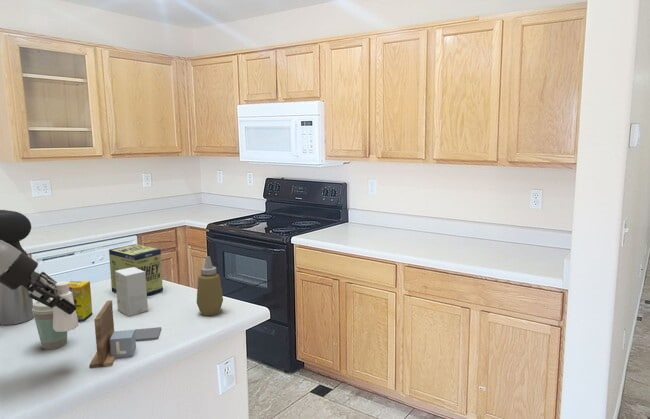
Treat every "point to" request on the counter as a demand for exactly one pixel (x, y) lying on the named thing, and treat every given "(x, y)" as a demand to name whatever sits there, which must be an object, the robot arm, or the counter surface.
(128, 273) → the small box
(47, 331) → the coffee cup
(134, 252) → the protein box
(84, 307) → the supplement box
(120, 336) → the gray cube
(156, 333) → the pad
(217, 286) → the squeeze bottle
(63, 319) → the pepper shaker
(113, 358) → the screen
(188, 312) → the counter surface
